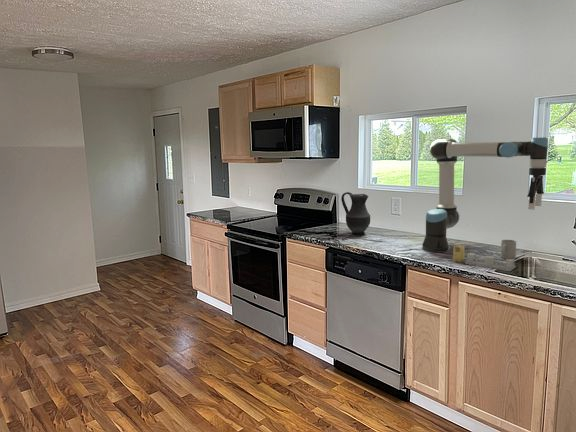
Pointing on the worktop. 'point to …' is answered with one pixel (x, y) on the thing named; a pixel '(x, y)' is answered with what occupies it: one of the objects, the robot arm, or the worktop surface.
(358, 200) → the pitcher
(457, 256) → the block
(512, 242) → the cup
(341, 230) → the worktop surface
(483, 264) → the rail
